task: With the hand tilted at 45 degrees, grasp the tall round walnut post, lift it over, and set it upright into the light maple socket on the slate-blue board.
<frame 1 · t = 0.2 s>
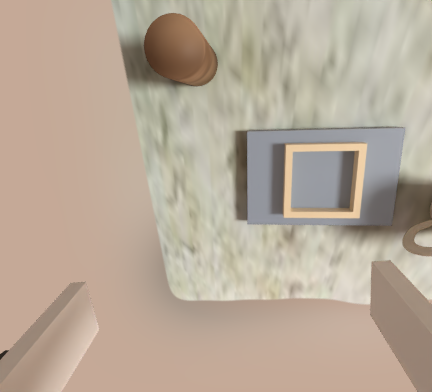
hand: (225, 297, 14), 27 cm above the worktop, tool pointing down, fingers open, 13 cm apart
post: (196, 64, 37), on the worktop
board: (318, 176, 40), on the worktop
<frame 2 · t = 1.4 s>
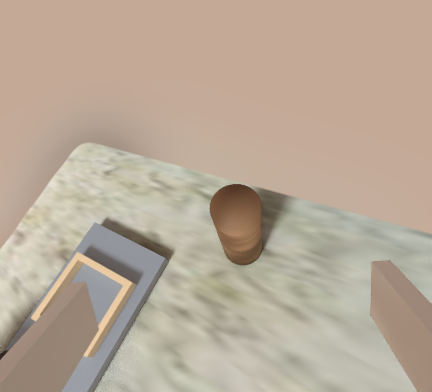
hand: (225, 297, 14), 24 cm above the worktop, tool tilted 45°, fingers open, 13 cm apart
post: (242, 246, 41), on the worktop
board: (93, 304, 40), on the worktop
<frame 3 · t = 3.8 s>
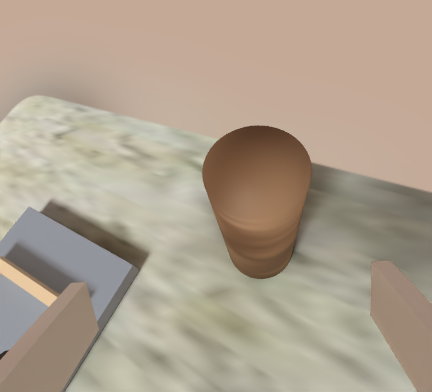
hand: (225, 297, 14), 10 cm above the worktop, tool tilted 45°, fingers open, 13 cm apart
post: (260, 247, 25), on the worktop
board: (15, 338, 24), on the worktop
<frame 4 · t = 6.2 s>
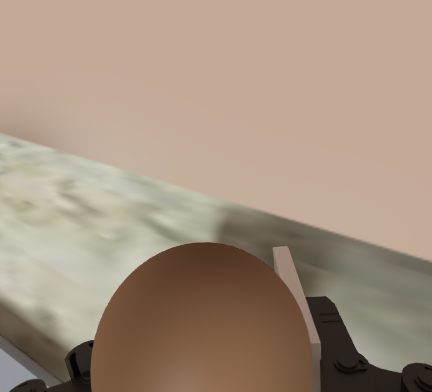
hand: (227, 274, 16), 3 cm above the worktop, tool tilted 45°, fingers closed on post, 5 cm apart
post: (237, 355, 17), on the worktop, touching gripper
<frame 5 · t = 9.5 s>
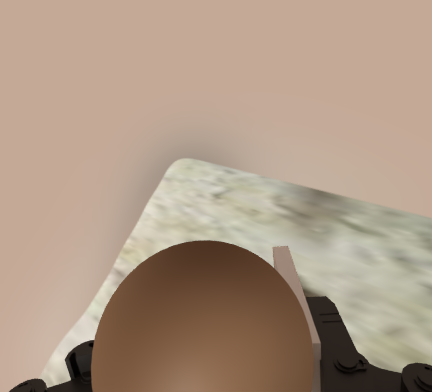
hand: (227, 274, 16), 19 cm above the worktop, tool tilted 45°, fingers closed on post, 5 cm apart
post: (237, 354, 17), point 16 cm above the worktop, touching gripper
when the fingers open (6 cm above the worktop, at t = 13.0 s): post stays where it is, resting on board.
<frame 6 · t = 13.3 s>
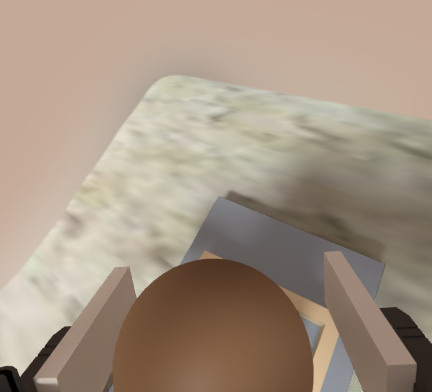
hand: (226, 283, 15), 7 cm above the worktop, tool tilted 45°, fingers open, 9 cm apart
post: (238, 356, 18), point 2 cm above the worktop, touching board
board: (239, 356, 20), on the worktop
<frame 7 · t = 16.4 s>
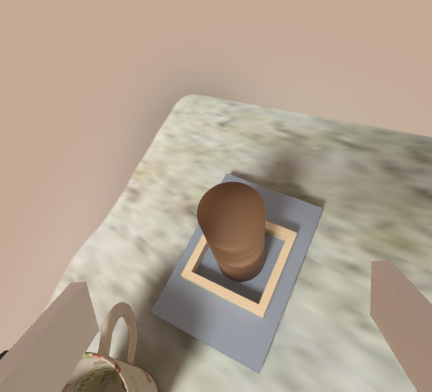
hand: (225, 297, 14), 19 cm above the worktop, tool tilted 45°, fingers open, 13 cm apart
post: (240, 258, 33), point 2 cm above the worktop, touching board
mug: (132, 377, 31), on the worktop
board: (241, 261, 34), on the worktop
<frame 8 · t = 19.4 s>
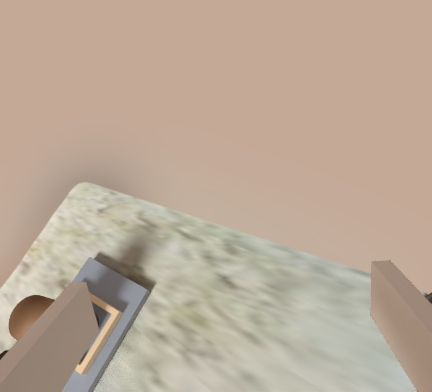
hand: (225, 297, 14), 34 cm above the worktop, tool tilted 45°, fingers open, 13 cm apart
post: (82, 327, 46), point 2 cm above the worktop, touching board
board: (87, 327, 48), on the worktop
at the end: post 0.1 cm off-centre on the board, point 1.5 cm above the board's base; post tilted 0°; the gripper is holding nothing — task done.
